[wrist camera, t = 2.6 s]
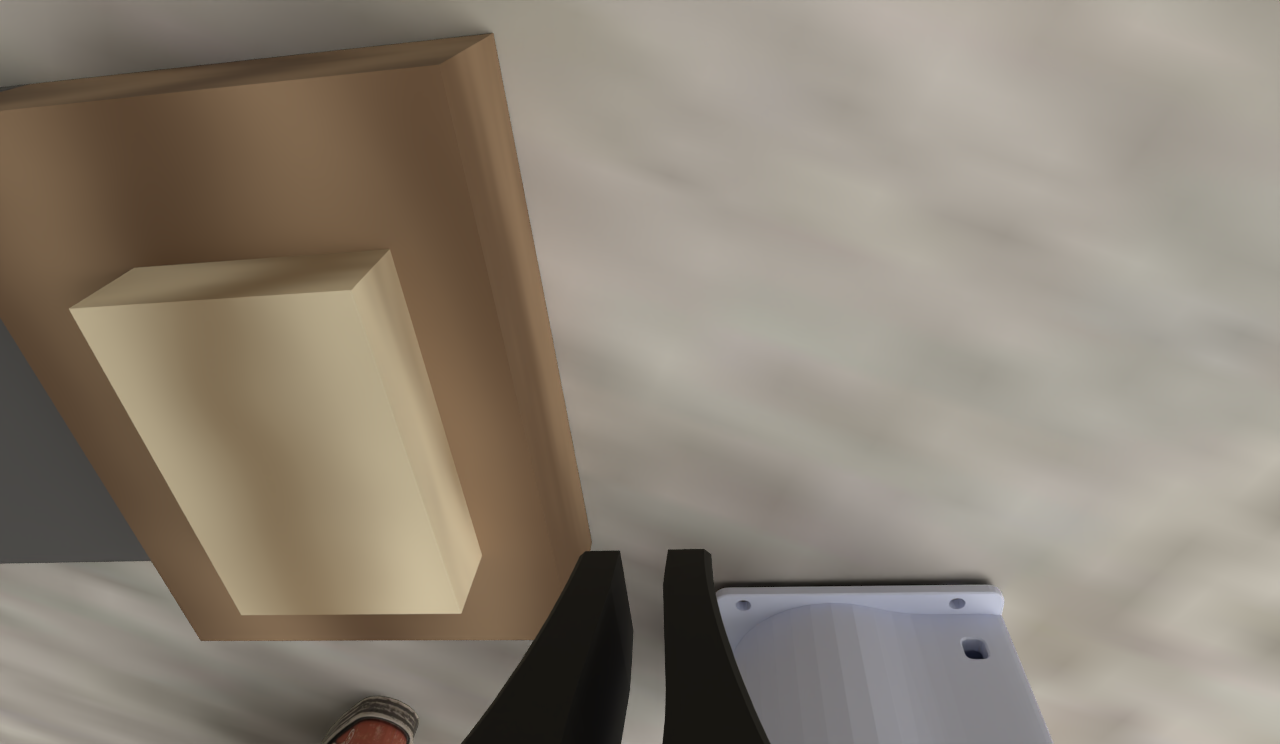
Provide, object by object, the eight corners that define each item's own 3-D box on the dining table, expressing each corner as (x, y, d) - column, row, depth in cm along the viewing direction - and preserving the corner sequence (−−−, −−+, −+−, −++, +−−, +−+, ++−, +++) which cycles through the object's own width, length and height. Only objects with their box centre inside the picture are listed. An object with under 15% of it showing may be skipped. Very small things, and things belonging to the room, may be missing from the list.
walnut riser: (492, 33, 17) (438, 64, 14) (591, 542, 26) (573, 639, 22) (30, 84, 19) (-121, 123, 15) (264, 548, 27) (200, 640, 24)
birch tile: (389, 249, 16) (350, 290, 14) (482, 555, 21) (461, 613, 19) (134, 267, 17) (68, 308, 15) (279, 558, 21) (241, 615, 20)
